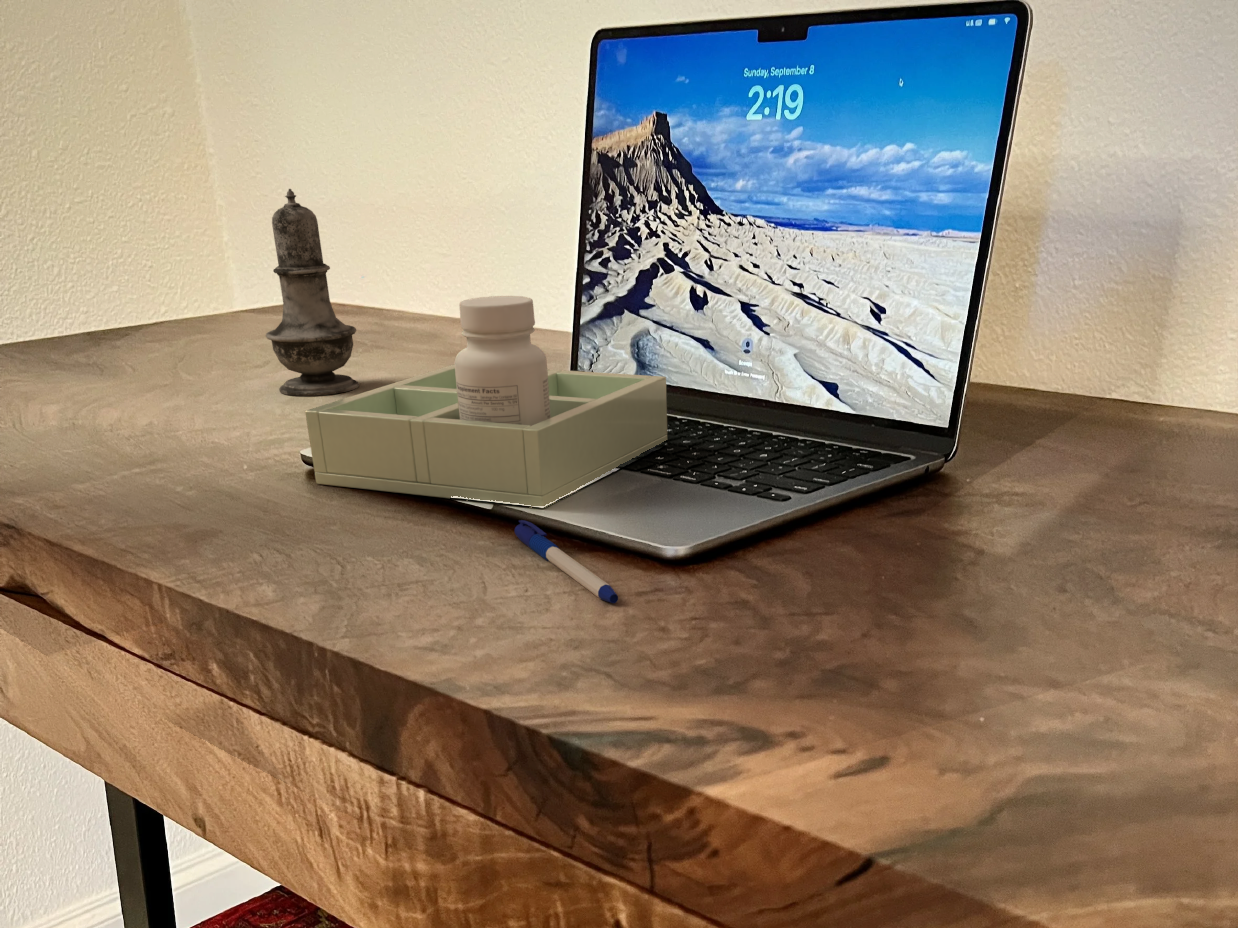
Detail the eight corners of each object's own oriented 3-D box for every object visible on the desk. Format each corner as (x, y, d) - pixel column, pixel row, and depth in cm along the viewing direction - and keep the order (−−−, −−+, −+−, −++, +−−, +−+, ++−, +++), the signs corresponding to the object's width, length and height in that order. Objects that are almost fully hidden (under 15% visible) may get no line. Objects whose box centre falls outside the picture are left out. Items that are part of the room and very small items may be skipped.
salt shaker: (381, 383, 91) (356, 185, 85) (319, 399, 87) (288, 192, 81) (319, 377, 94) (290, 185, 88) (256, 392, 90) (221, 191, 83)
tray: (315, 484, 68) (304, 410, 66) (462, 428, 78) (455, 363, 76) (543, 509, 63) (537, 430, 61) (668, 445, 73) (666, 376, 71)
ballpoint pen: (508, 539, 59) (506, 517, 58) (527, 536, 59) (525, 514, 59) (607, 609, 51) (606, 583, 50) (628, 605, 51) (628, 580, 51)
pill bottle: (514, 453, 69) (501, 291, 65) (572, 466, 66) (562, 297, 62) (447, 470, 66) (429, 302, 62) (504, 484, 64) (489, 309, 60)
